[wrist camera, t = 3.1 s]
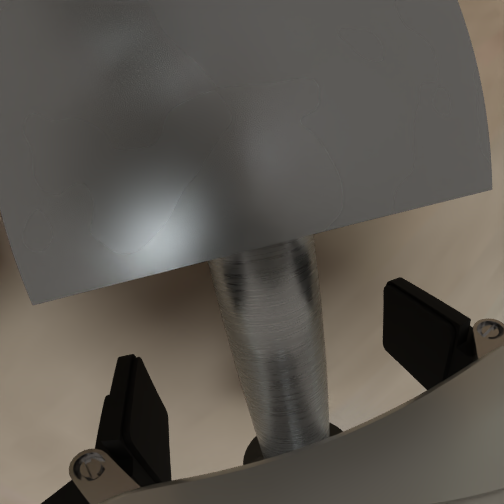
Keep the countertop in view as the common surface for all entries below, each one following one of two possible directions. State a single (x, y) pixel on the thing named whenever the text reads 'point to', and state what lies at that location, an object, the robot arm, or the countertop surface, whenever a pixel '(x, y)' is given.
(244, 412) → the countertop surface
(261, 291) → the shaft
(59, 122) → the block
